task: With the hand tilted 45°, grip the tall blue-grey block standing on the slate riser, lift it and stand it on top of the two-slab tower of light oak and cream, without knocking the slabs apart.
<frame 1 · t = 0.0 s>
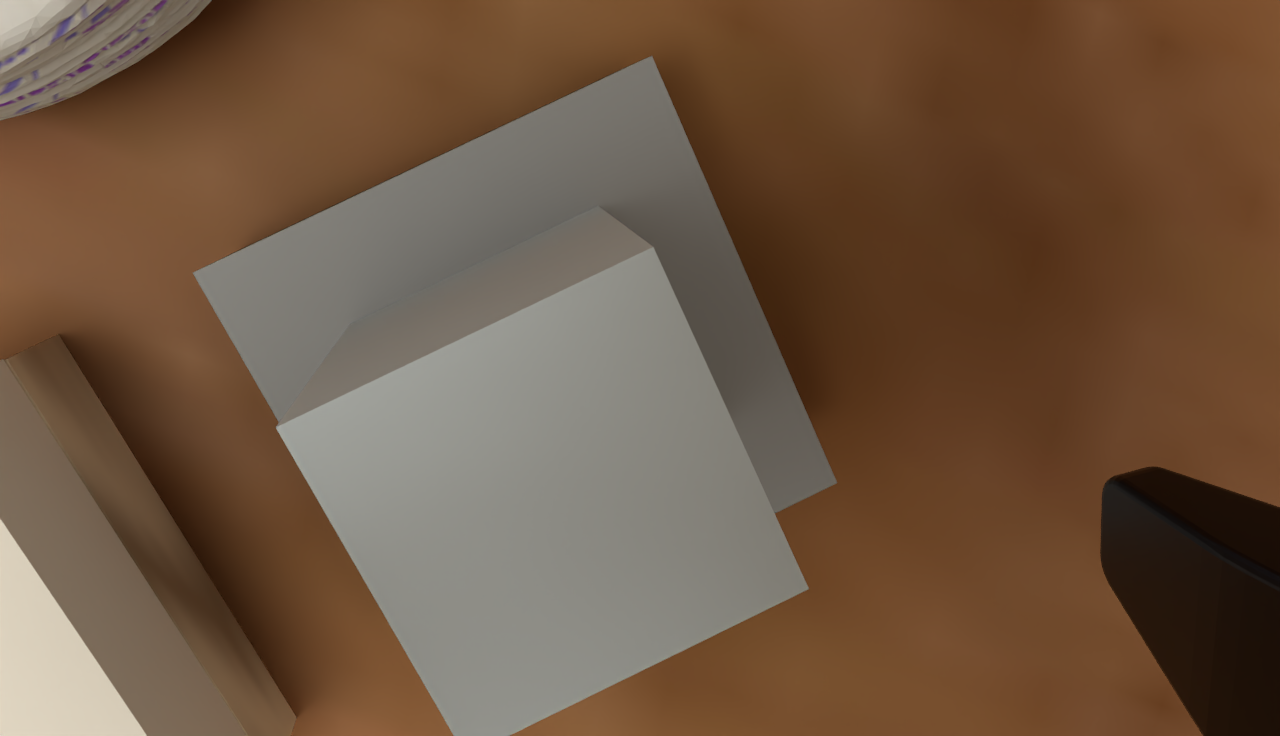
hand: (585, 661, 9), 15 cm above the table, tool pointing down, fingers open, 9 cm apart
slate riser: (528, 347, 24), on the table
blue-grey block: (534, 384, 20), point 3 cm above the table, touching slate riser
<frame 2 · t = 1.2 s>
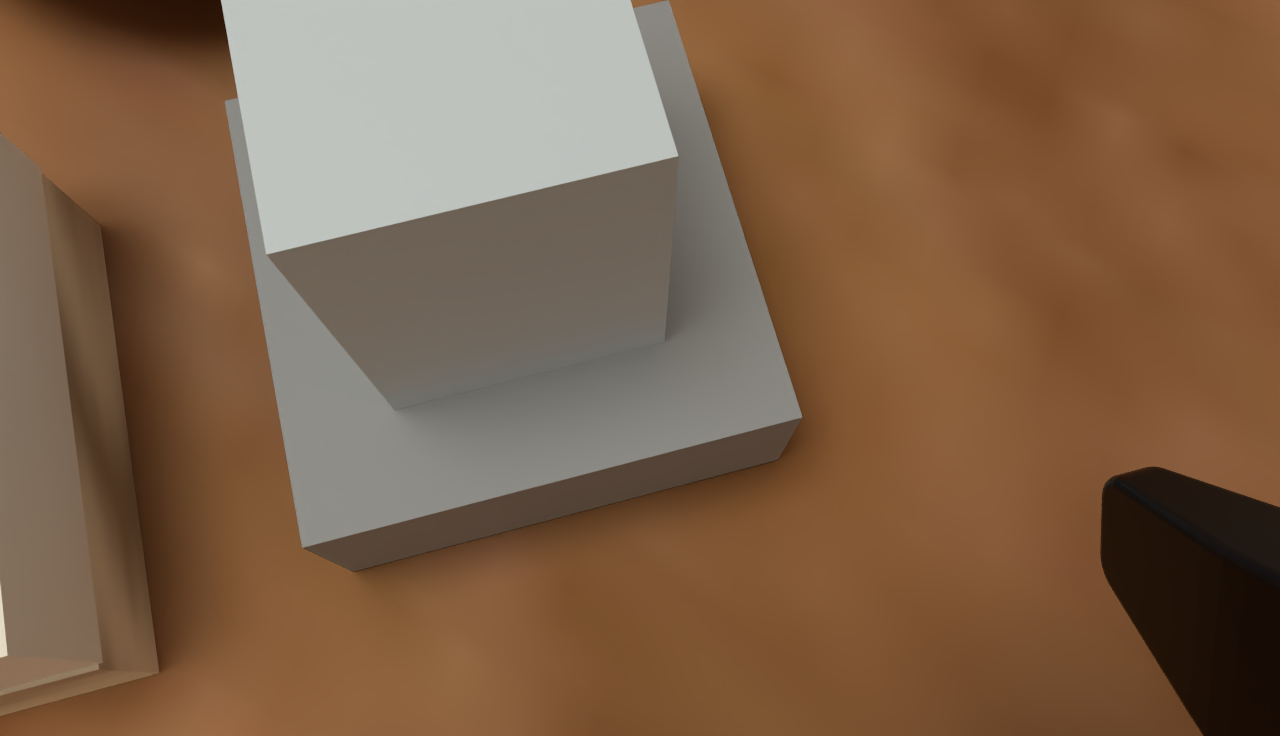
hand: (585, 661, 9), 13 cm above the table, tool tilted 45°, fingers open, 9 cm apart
slate riser: (519, 316, 24), on the table
blue-grey block: (500, 251, 20), point 3 cm above the table, touching slate riser
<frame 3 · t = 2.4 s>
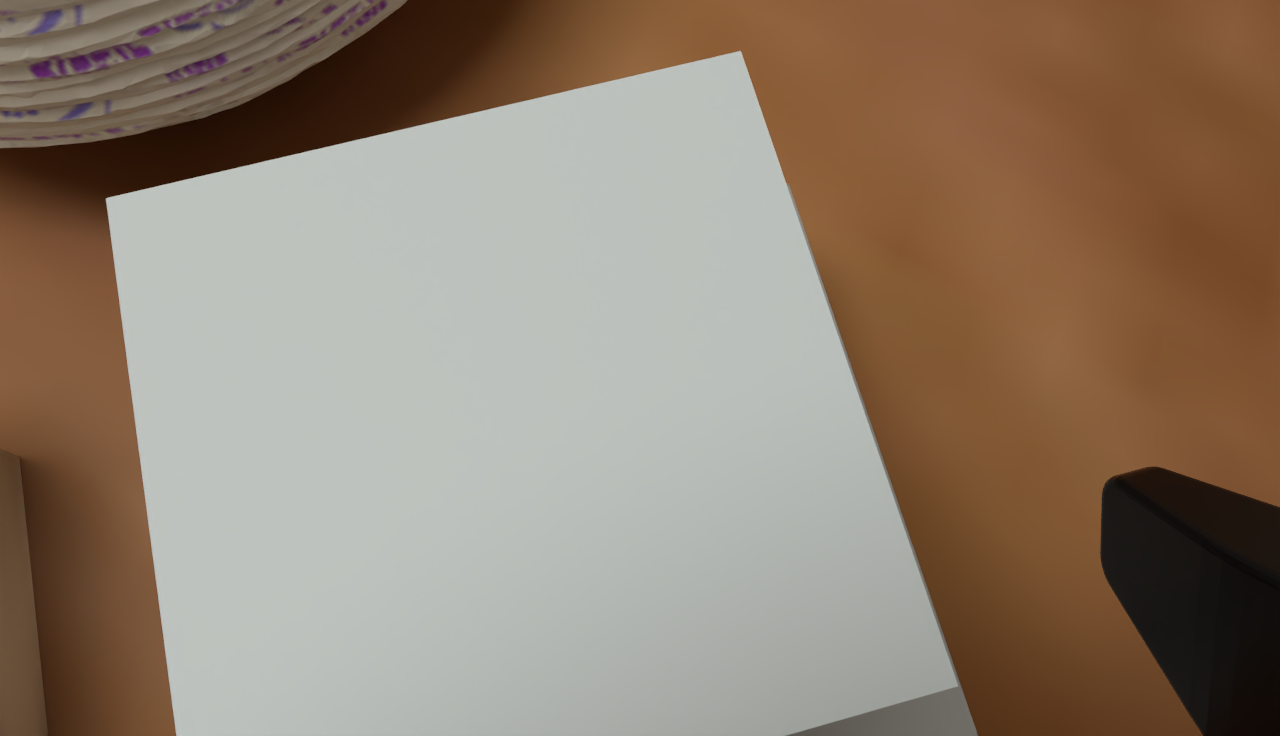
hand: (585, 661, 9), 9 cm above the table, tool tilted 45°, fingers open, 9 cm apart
slate riser: (578, 588, 18), on the table
blue-grey block: (565, 559, 14), point 3 cm above the table, touching slate riser
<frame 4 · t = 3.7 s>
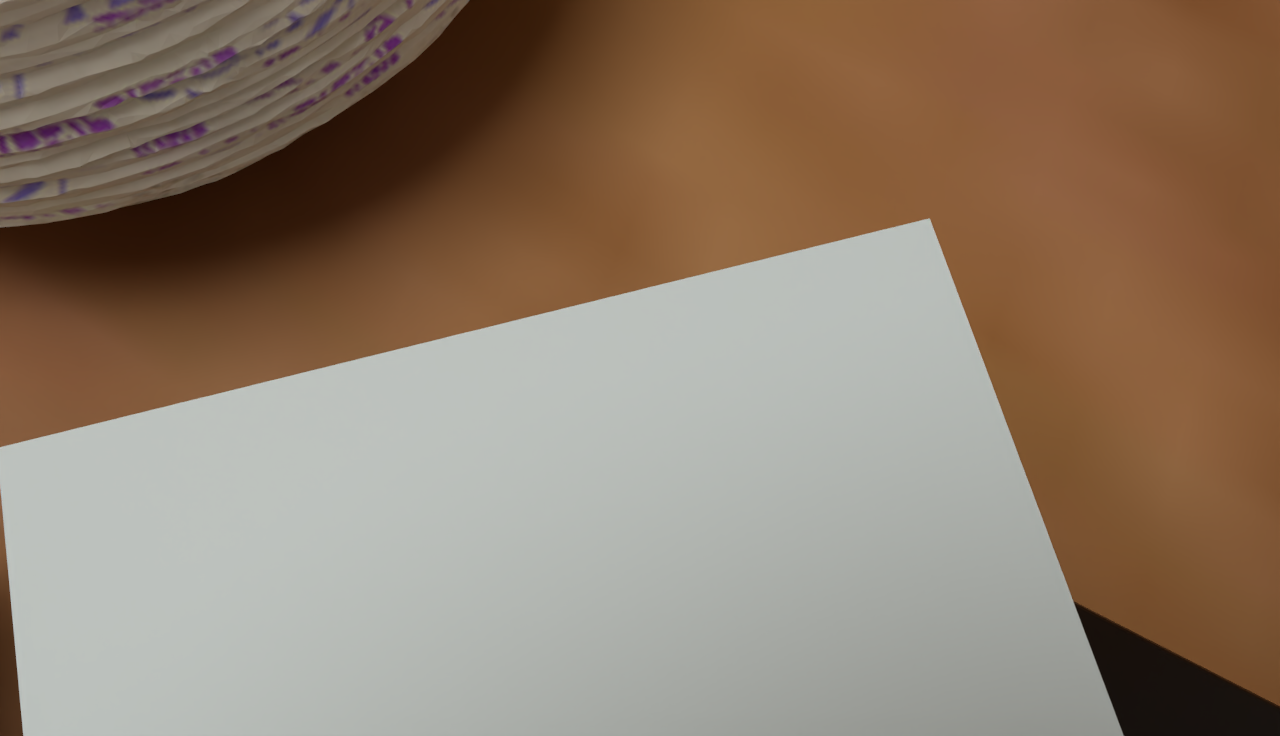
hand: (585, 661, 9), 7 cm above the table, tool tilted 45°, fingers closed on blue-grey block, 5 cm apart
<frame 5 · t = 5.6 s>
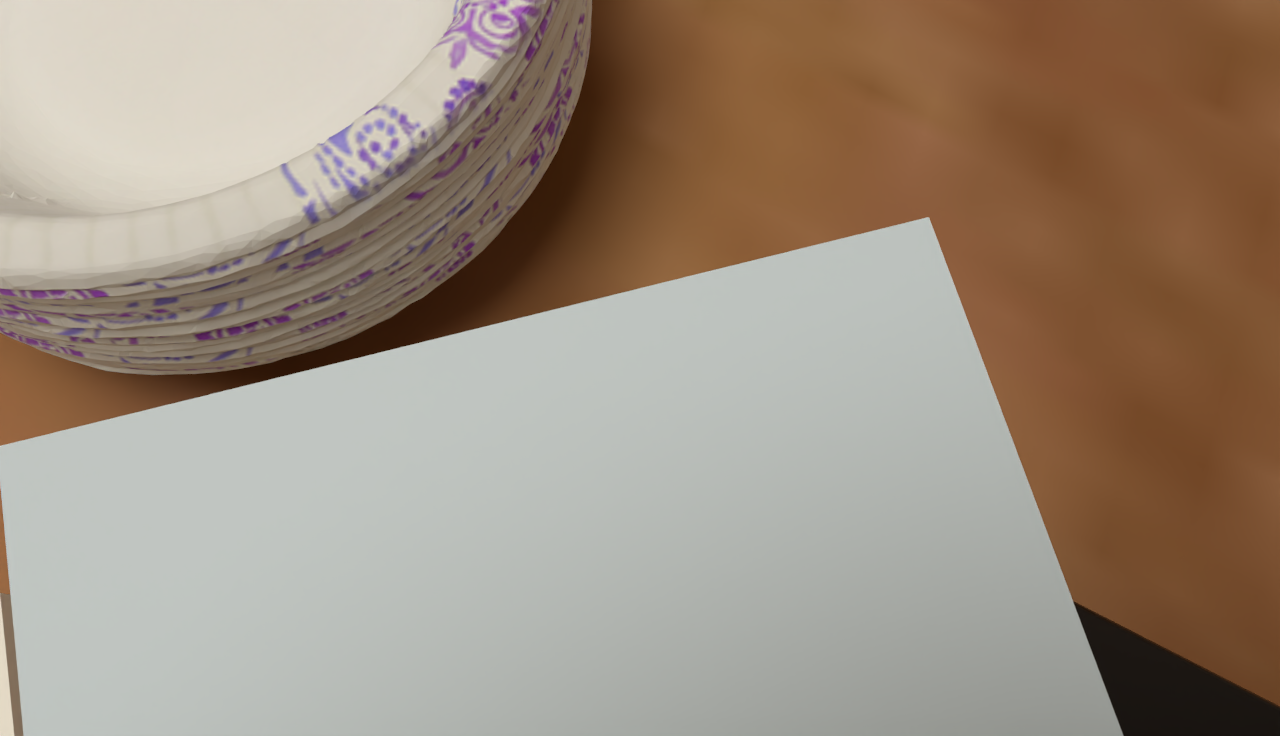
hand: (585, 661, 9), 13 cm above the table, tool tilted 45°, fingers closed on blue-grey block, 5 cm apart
paper bowls: (276, 109, 26), on the table
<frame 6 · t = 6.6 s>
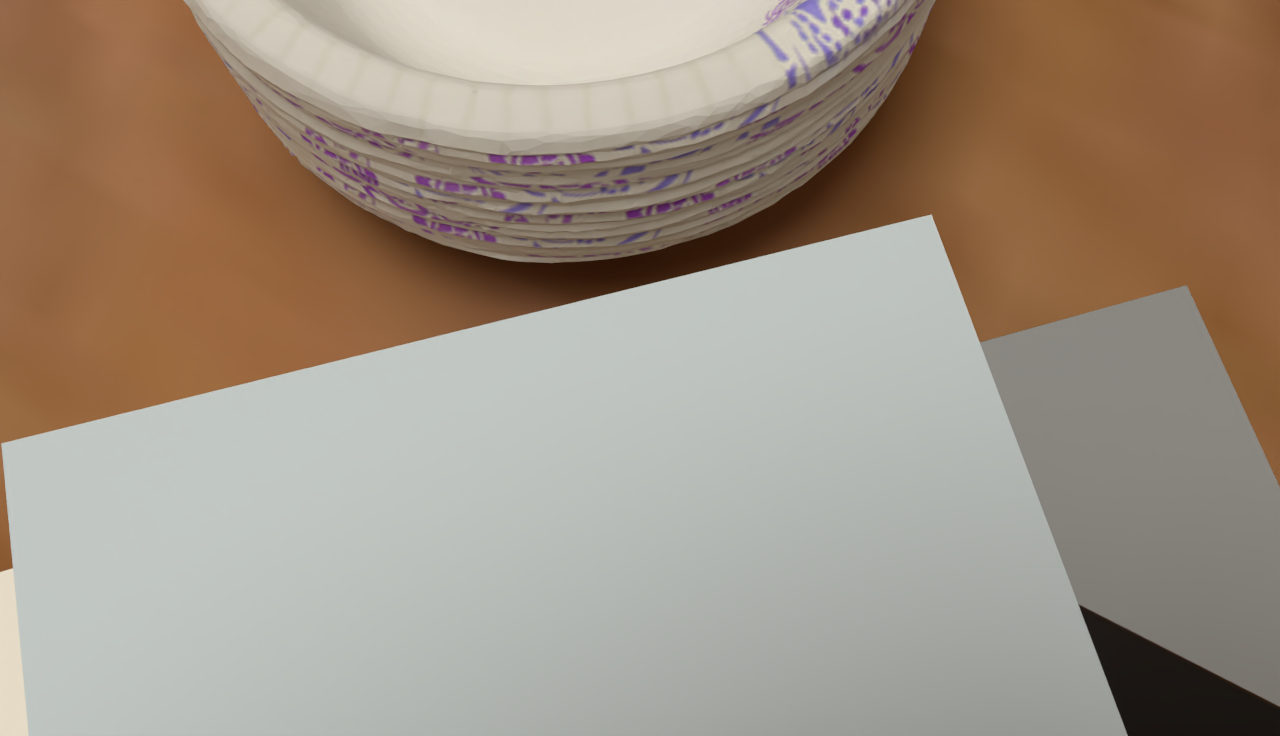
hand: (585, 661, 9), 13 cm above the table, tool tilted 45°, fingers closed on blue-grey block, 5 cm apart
paper bowls: (579, 27, 26), on the table
slate riser: (990, 604, 22), on the table
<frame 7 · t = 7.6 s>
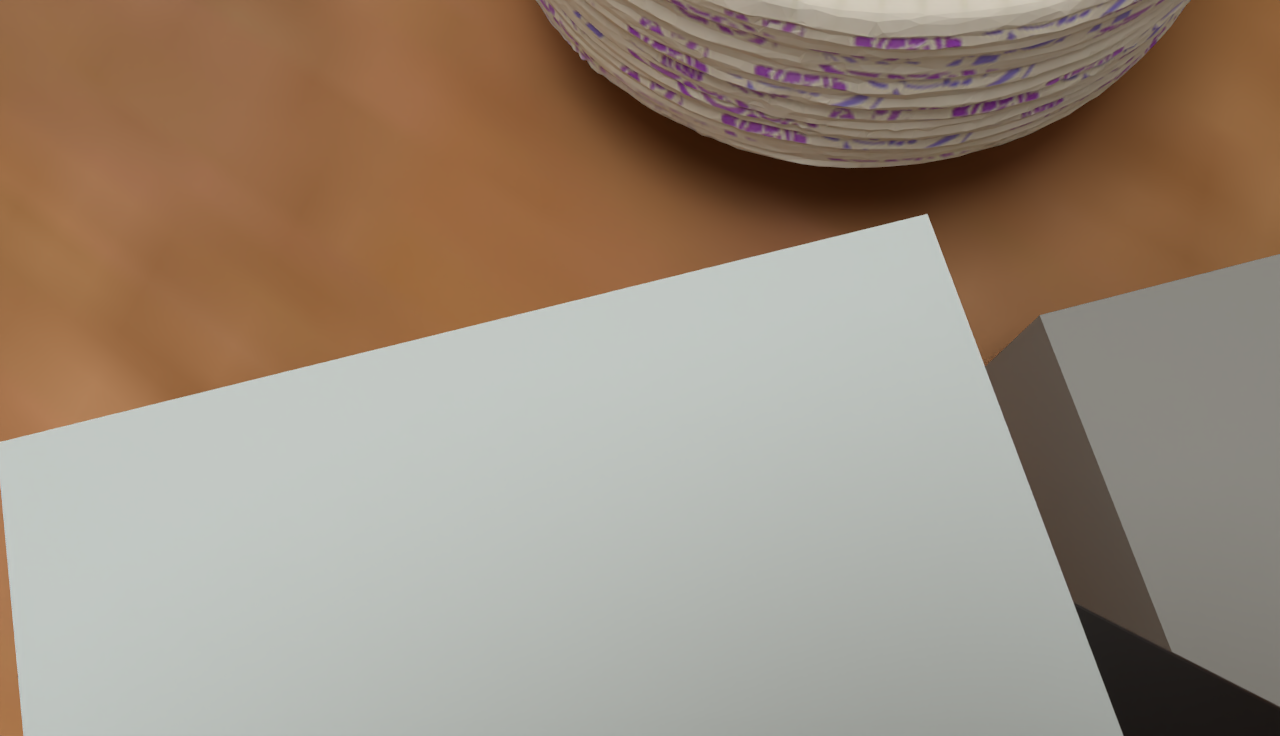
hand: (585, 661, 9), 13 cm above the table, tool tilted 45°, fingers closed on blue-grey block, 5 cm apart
slate riser: (1265, 522, 22), on the table
when the fingers open (10 cm above the table, at t = 9.7 s): blue-grey block drops 1 cm, resting on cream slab.
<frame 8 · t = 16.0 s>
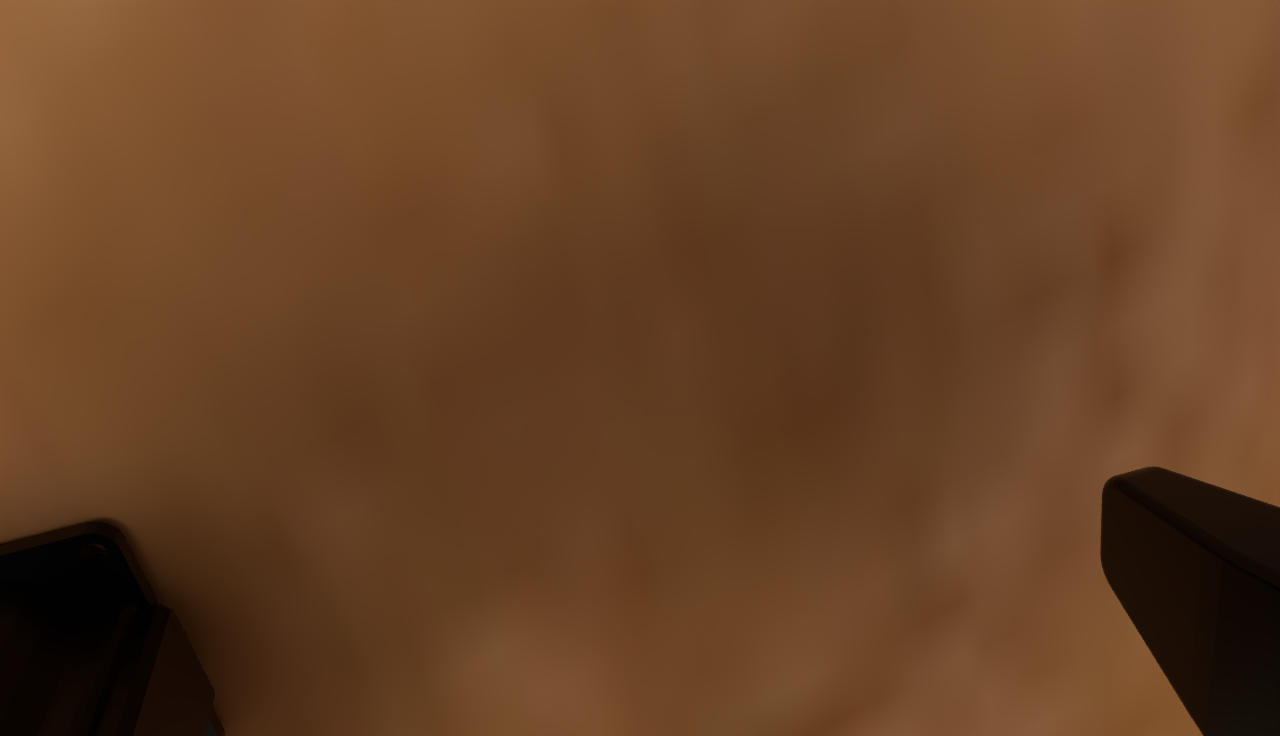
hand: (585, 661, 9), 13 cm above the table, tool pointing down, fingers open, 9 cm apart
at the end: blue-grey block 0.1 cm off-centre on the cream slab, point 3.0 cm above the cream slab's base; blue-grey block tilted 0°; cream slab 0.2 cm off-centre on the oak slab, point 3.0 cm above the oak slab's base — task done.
